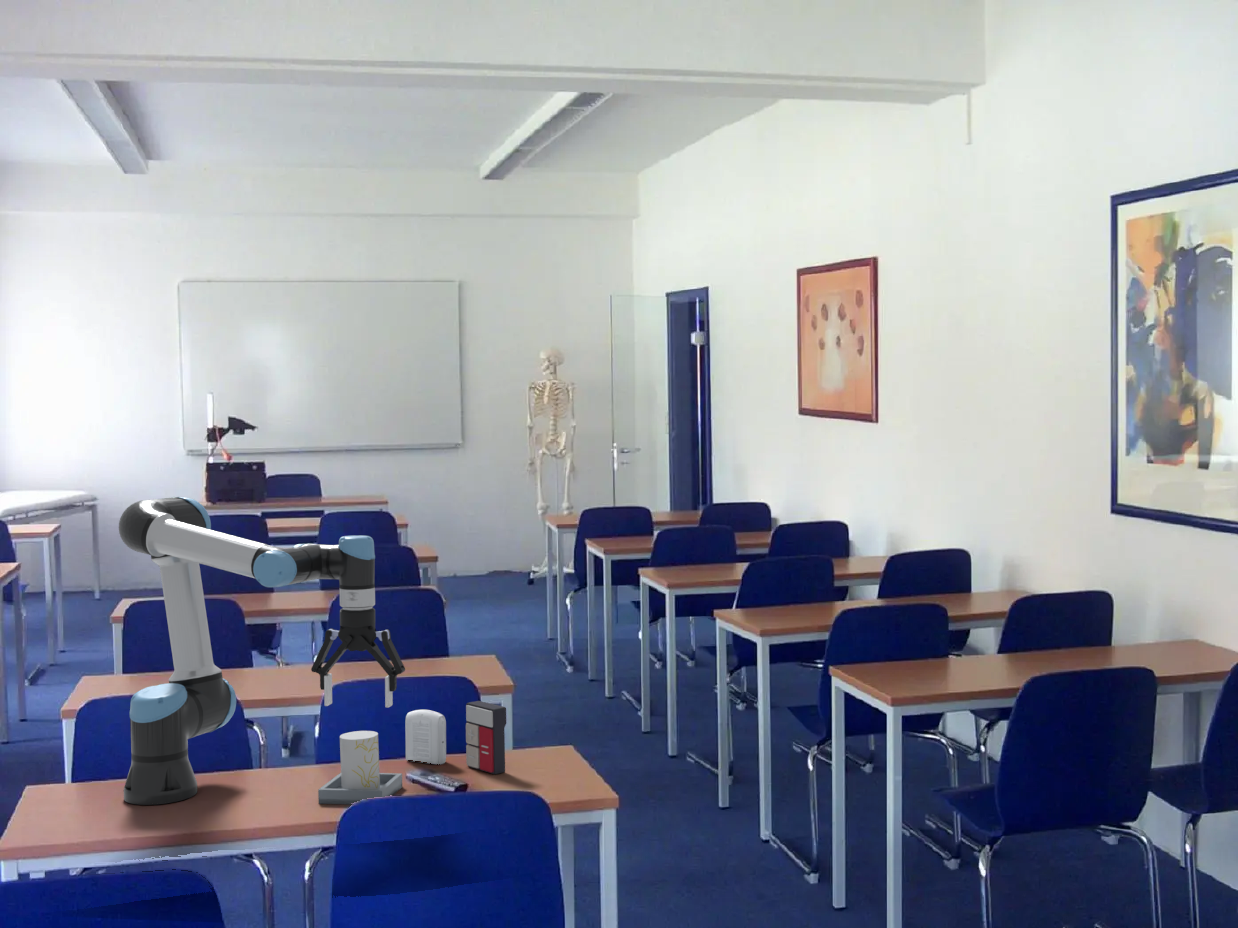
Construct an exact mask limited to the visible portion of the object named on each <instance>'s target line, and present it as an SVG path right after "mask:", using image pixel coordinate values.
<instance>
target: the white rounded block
mask: <svg viewBox="0 0 1238 928" xmlns="http://www.w3.org/2000/svg"><path fill="white" fill-rule="evenodd" d="M404 723H405V727H404V729H405V731H404V732H405V760H406V761H408V760H413V761H412V762H415V761H421V762H420V763H423V762H427V763H426V764H430V763H431V764H432V765H437V764H438V765H439V764H440V765H444V764H445V763H446V761H447V721H446V717H445V715H444V714H442V713H440V712H437V711H434V710H430V709H415V710H412V711H409V712H407V714H406V715H405V722H404ZM440 765H439V766H440Z"/></svg>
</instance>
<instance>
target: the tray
mask: <svg viewBox="0 0 1238 928" xmlns="http://www.w3.org/2000/svg"><path fill="white" fill-rule="evenodd" d="M379 775H380V789H379V790H374V789H342V785H341V772H340V773H338V774H337V775H336V776H334V777H333V778H332V779H330V780H329V781H328V782H326V783H325V784H323V786H321V787H320V788H319V789H317V790H318V792H317V793H318V804H321V805H323V804H324V805H352V804H351V803H354V802H357V801H360V800H362V799H367V798H374V797H385V796H390V795H393V796H394V795H395V794H396V793H398V792H399V790H401V789H402V788H403V773H398V772H397V773H394V772H392V773H391V772H379Z"/></svg>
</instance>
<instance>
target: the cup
mask: <svg viewBox="0 0 1238 928" xmlns="http://www.w3.org/2000/svg"><path fill="white" fill-rule="evenodd" d="M339 748H340V749H339V750H340V751H339V754H340V773H341V785H342V789H374V790H379V789H380V775H379V773H380V755H379V754H380V751H379V750H380V749H379V733H378V732H377V731H374V730H356V731H355V730H354V731H349V732H345V733H342V734H340V735H339Z"/></svg>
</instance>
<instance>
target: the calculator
mask: <svg viewBox="0 0 1238 928" xmlns="http://www.w3.org/2000/svg"><path fill="white" fill-rule="evenodd" d="M465 712H466V713H465V718H466V719H465V720H466V723H465V743H466V745H465V748H466V749H465V750H466V751H465V752H466V753H465V754H466V755H465V759H466V760H465V761H466V762H465V763H466V765H467V767H469V768H472V769H476V770H478V771H482V772H485V773H488V774H491V775H499V774H502V773H505V772H506V749H505V748H506V746H505V745H506V743H505V742H506V741H505V738H506V737H505V735H506V734H505V728H506V725H507V708H506V706H503V705H498V704H493V703H489V702H486V701H481V700H476V701H470V702H467V703H466V704H465Z"/></svg>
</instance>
